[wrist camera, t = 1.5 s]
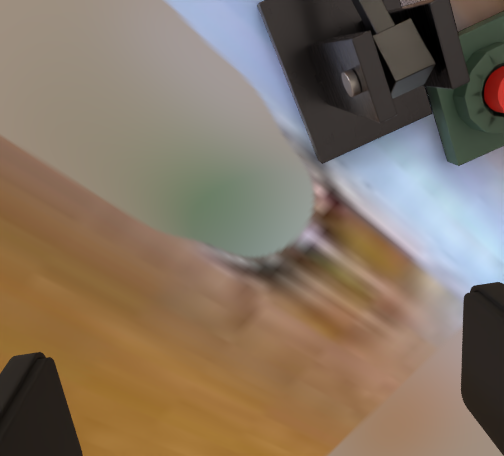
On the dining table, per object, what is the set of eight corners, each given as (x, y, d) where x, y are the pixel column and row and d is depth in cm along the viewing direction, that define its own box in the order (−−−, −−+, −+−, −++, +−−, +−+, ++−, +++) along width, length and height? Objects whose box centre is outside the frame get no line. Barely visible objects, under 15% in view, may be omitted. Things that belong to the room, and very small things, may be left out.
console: (415, 51, 34) (437, 50, 31) (517, 4, 34) (550, -2, 31) (447, 161, 38) (470, 171, 34) (541, 119, 37) (573, 124, 34)
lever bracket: (256, 5, 32) (284, -25, 21) (377, -53, 32) (468, -114, 21) (318, 160, 37) (367, 203, 25) (425, 111, 36) (523, 133, 25)
